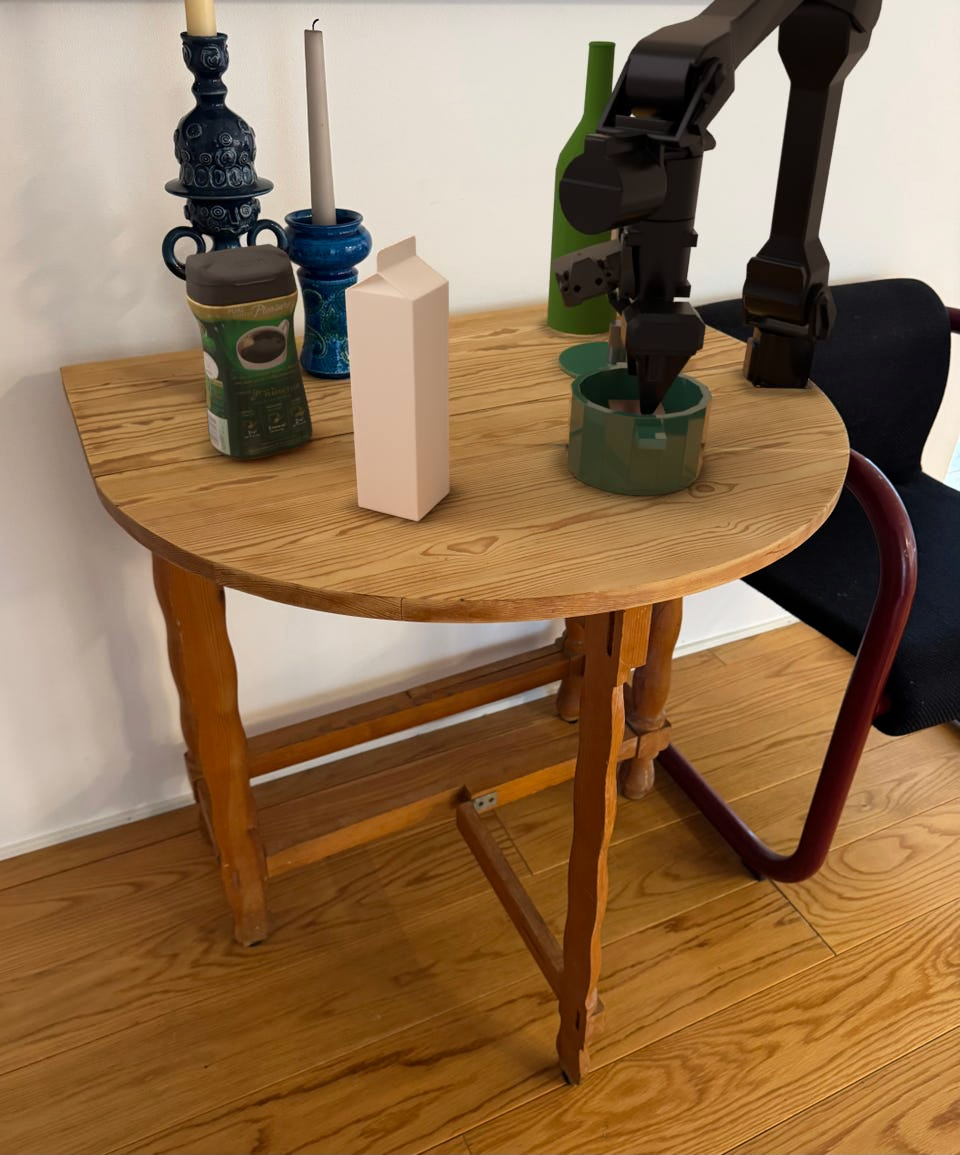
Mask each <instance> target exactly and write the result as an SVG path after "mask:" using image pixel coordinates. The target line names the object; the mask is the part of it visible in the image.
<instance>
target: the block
mask: <svg viewBox="0 0 960 1155" xmlns="http://www.w3.org/2000/svg"><path fill="white" fill-rule="evenodd" d="M607 409H610V410H614V411H620V412H626V413H631V414H641V413H640V405H639V400H608V404H607ZM664 414H666V413H665V411H664V408H663V405H662V403H661V402H660V404H659V405H658V407H657V409H656V410H655V412H654V413H653V414H651V415H664Z"/></svg>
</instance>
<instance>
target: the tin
mask: <svg viewBox="0 0 960 1155" xmlns="http://www.w3.org/2000/svg"><path fill="white" fill-rule="evenodd" d="M608 400H639V393H638V378H637V376H630V375H629V374H628V369H627V363H622V362H617V363H616V366H610V367H603V368H597V369H594V370H591V371H588V372H586V373H583V374H580V375H579V376H578V377H577V378H574V379H573V381H572V382H570V386H569V401H568V412H567V413H568V415H567V428H566V440H565V441H566V443H565V464H566V468H567V469H568V472H570V473H571V475H572V476H574V477H575V478H576V479H577V480H579V481H580V482H582V483H584V484H586V485H588V486H591V487H592V488H595V489H599V490H601V491H606V492H609V493H613V494H620V495H627V496H639V497H640V496H641V497H643V496H659V495H668V494H671V493H675V492H678V491H681V490H683V489H686V488H688V487H689V486H691V485H692V484H693V483H695V482H696V481H697V479H698V478H699V476H700V473H701V472H700V471H701V469H702V466H703V459H704V453H705V447H706V441H707V436H708V428H709V423H710V416H711V410H712V402H713V395H712V393H711V391H710V389H709V387H708V385H706V384H704V383H703V382H701V381H700V380H698V379H697V378H695V377H693V376H691V375H688V374H685V373H681V372H680V373H679V375H678V376H677V378H676V379H675V381H674V382H673V384H672V385H671V387H670V388H669V390H668V391H667V393H666V395H665V396H664V398H663V399H662V401H661V403H662V405H663V408H664V411H665V413H666V414H664V415H643V414H631V413H626V412H620V411H614V410H610V409H607V404H608Z"/></svg>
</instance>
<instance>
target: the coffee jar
mask: <svg viewBox="0 0 960 1155" xmlns="http://www.w3.org/2000/svg"><path fill="white" fill-rule="evenodd" d="M184 266H185V267H184V269H185V270H184V275H185V291H186V293H185V297H186V301H187V305H188V306H189V309H190V311H191V312H192V315H193V316H194V318H195V319H196V321H197V323H198V327H199V333H200V337H201V344H202V345H201V346H202V350H203V363H204V379H205V381H204V382H205V396H206V397H205V398H206V399H205V401H206V418H207V419H206V421H207V429H208V436H209V441H210V444H212V446H213V447H214V449H215V451H217V452H218V453H219V454H221V456H224V457H227V458H231V459H235V460H238V461H249V460H254V459H260V458H265V457H269V456H270V457H271V456H273V455H278V454H280V453H286V452H288V451H292V450H295V449H298V448H300V447H303V446H305V445H306V444H308V443H309V441H310V440H311V439H312V436H313V433H314V431H313V423H312V418H311V417H312V416H311V411H310V408H309V407H310V406H309V403H308V398H307V394H306V389H305V384H304V380H303V375H302V371H301V370H302V369H301V366H300V361H299V360H300V359H299V356H298V349H297V342H296V336H295V335H296V334H295V312H296V307H297V304H298V299H299V288H298V285H297V282H296V276H295V274H294V268H293V264H292V261H291V258H290V256H289V254H288V253H287V252H286V251H284V250H283V249H281V248H279V247H278V246H276V245H274V244H271V243H264V244H257V245H248V246H242V247H241V246H240V247H233V248H225V249H220V250H214V251H208V252H201V253H194V254H193V253H192V254H189V255H188V256H186V259H185V265H184Z"/></svg>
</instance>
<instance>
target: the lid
mask: <svg viewBox="0 0 960 1155" xmlns="http://www.w3.org/2000/svg"><path fill="white" fill-rule="evenodd" d="M620 337H621V319H616V320H613V321H611V322H610V326H609V332H608V339H607V341H591V342H585V343H584V342H583V343H579V344H575V345H573V346H569V347H567V348H565V349H564V350H563V351H561V352H560V354H559V355H558V357H557V358H558V359H557V360H558V361H557V363H558V367H559V368H560V370H561V371H563V372H564V373H565V374H566V375H568V376H570V377H572V378H574V379H576V378H577V377H578V376H579V375H580V374H583V373H586V372H588V371H591V370H594V369H597V368H603V367H610V366H616V363H617V362H622V363H627V360H626V351H625V350H624V348H623V345H622V342H621V339H620Z"/></svg>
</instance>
